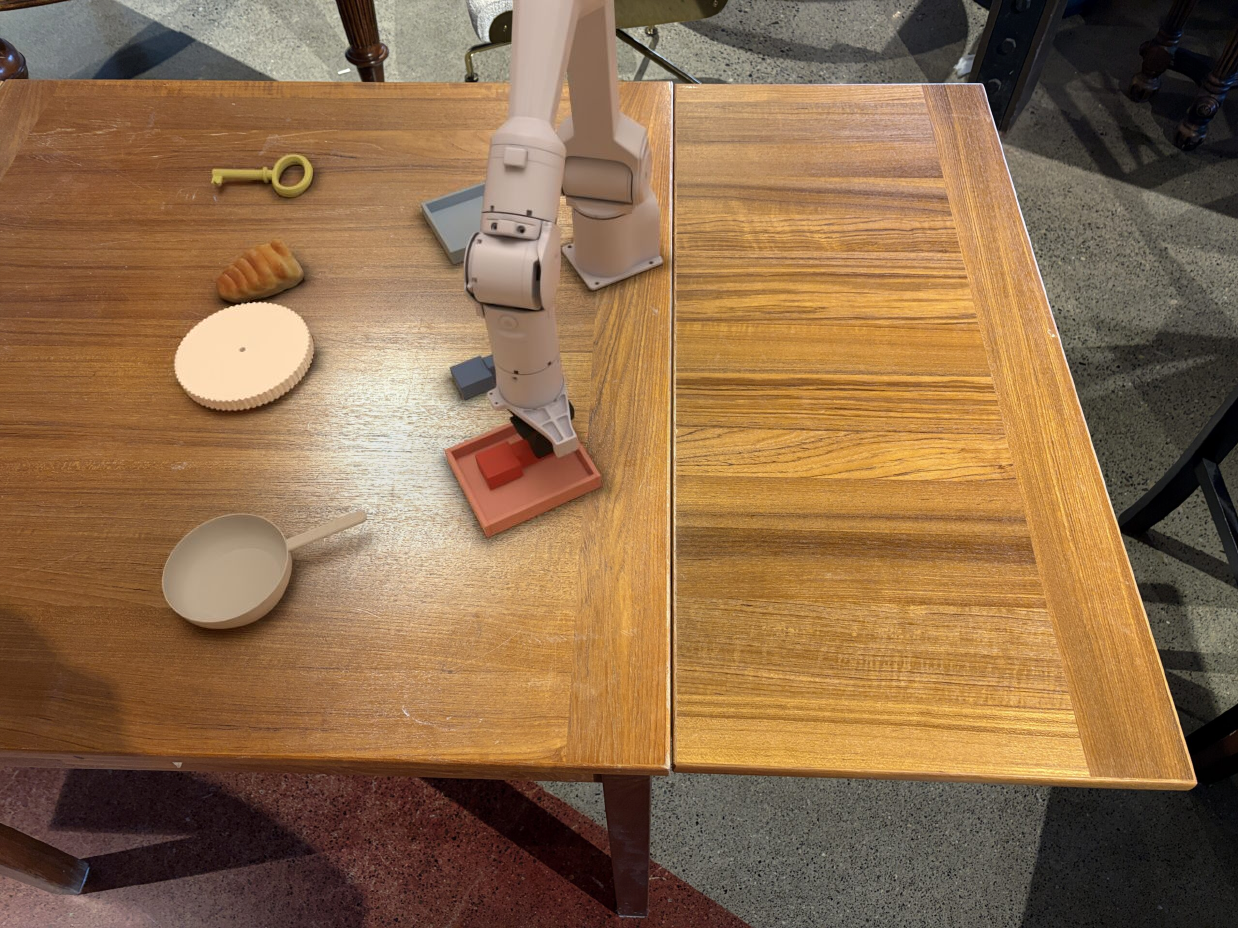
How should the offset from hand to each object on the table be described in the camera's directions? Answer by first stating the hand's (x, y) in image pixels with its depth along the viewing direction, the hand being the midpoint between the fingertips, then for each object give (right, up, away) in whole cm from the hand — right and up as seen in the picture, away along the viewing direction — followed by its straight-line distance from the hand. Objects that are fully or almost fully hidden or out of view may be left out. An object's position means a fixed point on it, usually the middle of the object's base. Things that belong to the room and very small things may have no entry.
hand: (540, 444), depth 87 cm
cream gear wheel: (-32, +9, +9) cm, 34 cm away
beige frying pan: (-23, -12, -5) cm, 27 cm away
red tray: (-2, -3, 0) cm, 3 cm away
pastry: (-33, +19, +17) cm, 42 cm away
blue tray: (-9, +27, +22) cm, 36 cm away
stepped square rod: (-5, +8, +8) cm, 12 cm away
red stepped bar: (-1, -1, +1) cm, 2 cm away
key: (-37, +34, +27) cm, 57 cm away
